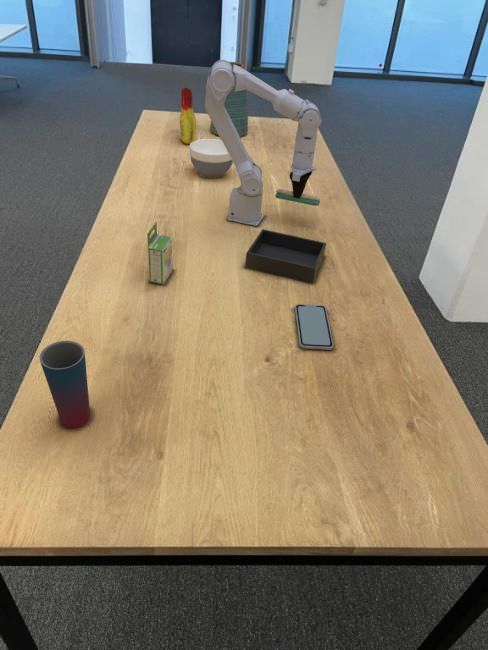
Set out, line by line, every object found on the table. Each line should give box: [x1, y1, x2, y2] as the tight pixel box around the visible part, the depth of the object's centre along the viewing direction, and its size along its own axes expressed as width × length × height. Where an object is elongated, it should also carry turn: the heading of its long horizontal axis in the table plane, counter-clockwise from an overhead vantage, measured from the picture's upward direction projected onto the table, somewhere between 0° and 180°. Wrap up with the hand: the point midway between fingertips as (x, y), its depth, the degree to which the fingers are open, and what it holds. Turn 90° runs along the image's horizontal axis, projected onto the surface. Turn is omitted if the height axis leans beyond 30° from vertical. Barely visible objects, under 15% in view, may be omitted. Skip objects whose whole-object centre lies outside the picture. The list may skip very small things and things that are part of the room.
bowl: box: [188, 138, 234, 179], centre depth 177 cm, size 16×16×10 cm
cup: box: [39, 340, 91, 429], centre depth 84 cm, size 7×7×15 cm
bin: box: [244, 228, 327, 284], centre depth 134 cm, size 18×14×4 cm
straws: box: [274, 188, 321, 207], centre depth 149 cm, size 13×3×3 cm, turn 72°
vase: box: [209, 61, 249, 138], centre depth 208 cm, size 16×16×27 cm
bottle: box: [179, 87, 197, 145], centre depth 198 cm, size 12×6×20 cm, turn 10°
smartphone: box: [294, 303, 334, 351], centre depth 113 cm, size 7×1×15 cm
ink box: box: [146, 221, 174, 286], centre depth 121 cm, size 7×4×13 cm, turn 168°
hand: (297, 195), depth 149 cm, fingers closed on straws
